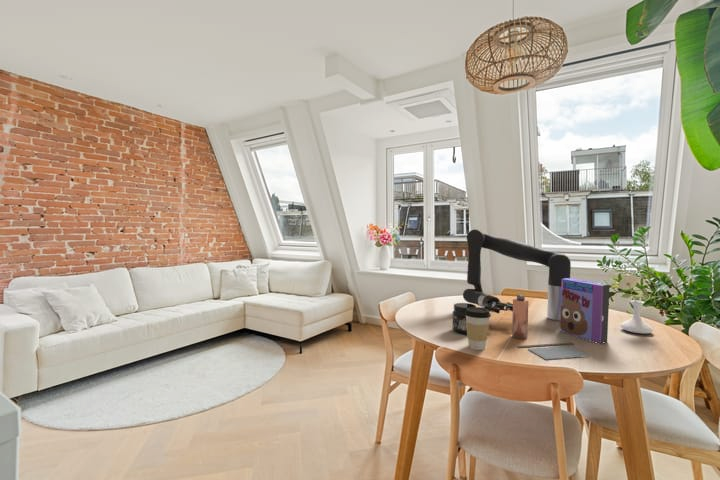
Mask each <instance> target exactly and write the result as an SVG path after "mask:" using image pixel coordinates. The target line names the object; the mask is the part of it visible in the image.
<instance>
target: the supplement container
mask: <svg viewBox="0 0 720 480" xmlns="http://www.w3.org/2000/svg"><path fill="white" fill-rule="evenodd" d="M469 307H477V306H476V304H473V303H469V302H457V303H456V302H455V304H453V311H452V331H453V332H454V333H455V334H458V335H464V336H465V335H466V336H467V328H466V315H465V311H466V309H467V308H469Z"/></svg>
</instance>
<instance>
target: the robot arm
mask: <svg viewBox="0 0 720 480" xmlns="http://www.w3.org/2000/svg"><path fill="white" fill-rule="evenodd" d="M466 241H467V250H468V258H467V259H468V260H467V261H468V263H467V273H466V275H467V277H466V281H467V284H469V285H471V286H473V287H474V288H467V289H465V290H464V291H463V292H462V297H463V300H464V301H465V302H466V303H469V304H473V305H477V306H479V307H480V308H485V309H488V310H489V313H496V314H500V312H501V311H504V312H507V311H511V312H512V313H513V302H512V303H511V302H503V301H501V300H500V299H499V298H498V297H496V296H495V295H491V294H489V293H488V294H487V293H485V292H484V291H483V288H482V283H481V281H482V280H481V279H482V278H481V276H482V275H481V274H482V266H481V265H482V264H481V262H482V261H481V252H482V249H487V250H491V251H494V252H496V253H498V254H500V255H502V256H506V257H508V258H513V259H514V260H518V261H523V262H532V263H536V264H539V265H542V266H546V267H548V281H547V282H548V283H547V284H548V285H547V313H546V314H547V315H546V316H547V317H546V318H547V319H549V320H553V321H558V322H560V316H561V285H562V279H565V278H570V279H571V268H572V266H571V264H572V263H571V260H570V258H569V257H568V256H567V255H565V254H564V253H561V252H556V251H550V250H544V249H540V248H538V247H535V246H533V245H531V244H527V243H525V242H522V241H517V240H514V239H509V238H503V237H497V236H492V235H490V234H487V233H484V232H482V231H481V230H479V229H477V228H476V229H472V230H470V231H468V233H467V234H466Z"/></svg>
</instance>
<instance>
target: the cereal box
mask: <svg viewBox="0 0 720 480" xmlns="http://www.w3.org/2000/svg"><path fill="white" fill-rule="evenodd" d="M609 302H610V284H605V283H599V282H594V281H587V280H581V279H575V278H571V277H570V278H565V279H562V285H561V316H560V321H559V324H560V325H559V332H561V333H563V334H567V335H570V336H572V337H573V336H574V337H576V336H577V338H579V337H580V338H581V339H582V338H584V339H583V340H586V339H587V340H586V341H589V340H591V341H590V342H592V341H594V342H593V343H595V342H597V343H596V344H598V343H602V344H604V343H603V342H606V343H608V331H609V309H610V308H609V305H610V304H609ZM580 338H579V339H580Z"/></svg>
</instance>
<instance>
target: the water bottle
mask: <svg viewBox="0 0 720 480" xmlns="http://www.w3.org/2000/svg"><path fill="white" fill-rule="evenodd" d="M512 304H513V312H512V320H511V321H512V322H511V323H512V324H511V325H512V326H511V327H512V328H511V330H512V331H511V337H512V338H514V339H515V340H516V339H517V340H527V339H528V331H529V330H528V329H529V327H528V326H529V324H528V323H529V300H528V299H525V295H523V294H516V298H514V299H512Z"/></svg>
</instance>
